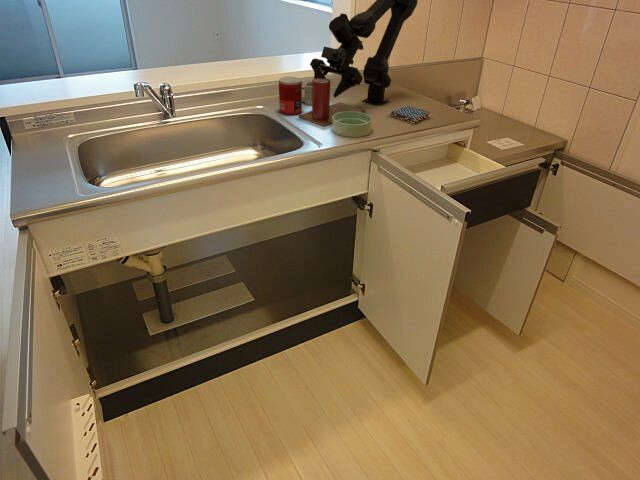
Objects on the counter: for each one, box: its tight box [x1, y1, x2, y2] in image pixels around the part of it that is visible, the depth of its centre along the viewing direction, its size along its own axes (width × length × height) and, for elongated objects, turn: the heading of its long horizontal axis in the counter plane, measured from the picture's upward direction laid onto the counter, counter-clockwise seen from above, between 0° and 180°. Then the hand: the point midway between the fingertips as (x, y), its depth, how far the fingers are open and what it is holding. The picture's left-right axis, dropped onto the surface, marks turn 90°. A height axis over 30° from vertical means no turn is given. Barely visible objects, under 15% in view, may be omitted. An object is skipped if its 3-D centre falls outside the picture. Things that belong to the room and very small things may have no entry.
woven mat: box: [389, 105, 430, 124], centre depth 153 cm, size 10×11×2 cm
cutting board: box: [298, 101, 366, 128], centre depth 152 cm, size 21×12×2 cm, turn 136°
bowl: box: [331, 111, 373, 138], centre depth 140 cm, size 13×13×4 cm
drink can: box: [311, 78, 331, 120], centre depth 144 cm, size 6×6×12 cm
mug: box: [302, 81, 312, 106], centre depth 162 cm, size 10×7×7 cm
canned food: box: [278, 76, 303, 116], centre depth 152 cm, size 8×8×11 cm
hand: (323, 93), depth 143 cm, fingers open, 9 cm apart
